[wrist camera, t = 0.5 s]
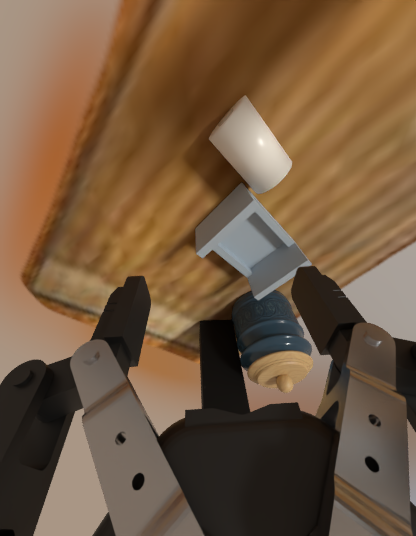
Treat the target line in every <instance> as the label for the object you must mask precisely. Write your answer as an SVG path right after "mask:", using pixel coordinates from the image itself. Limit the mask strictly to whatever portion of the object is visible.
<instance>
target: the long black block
mask: <svg viewBox="0 0 416 536" xmlns="http://www.w3.org/2000/svg"><path fill="white" fill-rule="evenodd" d="M199 341H200V370H201V399H202V409H209V408H214V409H219V410H223V411H227V412H232V413H236V414H240V415H244V414H247V413H250V409H249V403H248V399H247V393H246V389H245V383H244V377H243V372H242V368H241V363H240V357H239V351H238V347H237V341H236V336H235V331H234V326H233V322H232V320H215V321H200V339H199Z"/></svg>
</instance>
